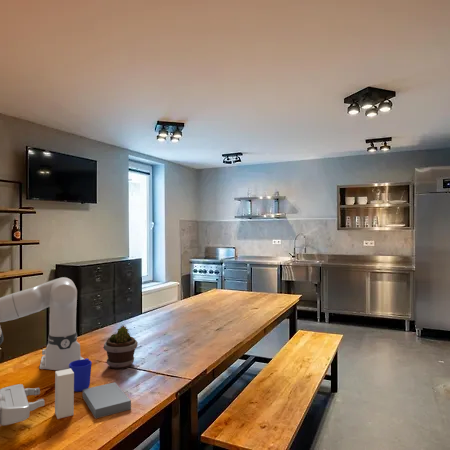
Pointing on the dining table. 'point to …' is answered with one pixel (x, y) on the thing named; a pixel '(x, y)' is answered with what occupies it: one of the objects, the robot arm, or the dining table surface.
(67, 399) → the block
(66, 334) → the robot arm
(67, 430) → the dining table surface
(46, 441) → the dining table surface
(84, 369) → the mug
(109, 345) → the flowerpot
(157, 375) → the dining table surface
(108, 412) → the block
